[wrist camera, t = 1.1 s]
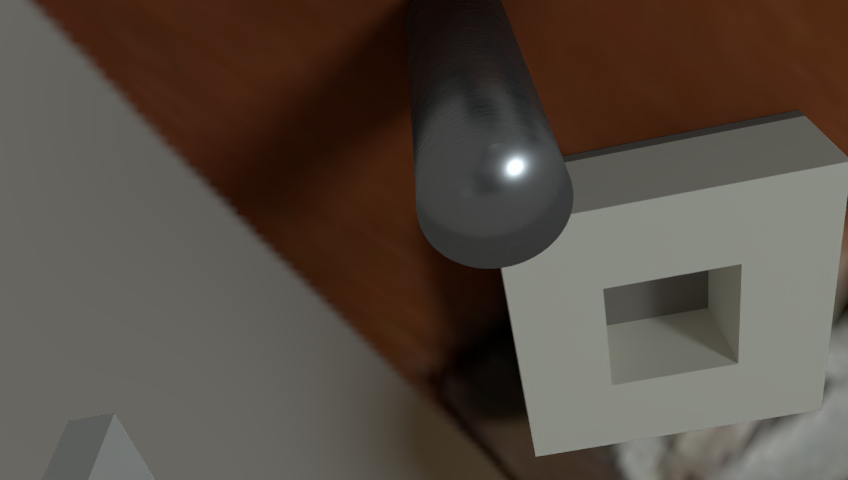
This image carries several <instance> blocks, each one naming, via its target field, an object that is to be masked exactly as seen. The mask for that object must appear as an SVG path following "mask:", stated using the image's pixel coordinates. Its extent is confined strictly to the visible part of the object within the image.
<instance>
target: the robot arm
mask: <svg viewBox="0 0 848 480" xmlns="http://www.w3.org/2000/svg"><path fill="white" fill-rule="evenodd" d="M42 480H155V479H154V477H153V476H152V474H151V472H150V471H149V469H148V467H147V466H146V464H145V463H144V461H143V459H142V458H141V456H140V454H139V453H138V451H137V449H136V448H135V446H134V444H133V443H132V441H131V440H130V438H129V437H128V435H127V433H126V431H125V430H124V428H123V427H122V425H121V423H120V421H119V420H118V418H117V417H116V415H115V413H112V414H107V415H101V416H95V417H91V418H84V419H79V420H73V421H69V422H68V424H67V426H66V428H65V430H64V433H63V435H62V437H61V439H60V441H59V444H58V446H57V448H56V450H55V452H54V455H53V457H52V459H51V461H50V463H49V466H48V468H47V470H46V472H45V474H44V477H43V479H42Z"/></svg>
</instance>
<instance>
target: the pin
mask: <svg viewBox="0 0 848 480" xmlns="http://www.w3.org/2000/svg"><path fill="white" fill-rule="evenodd" d="M406 38H407V55H408V72H409V88H410V105H411V122H412V139H413V156H414V173H415V190H416V207H417V216H418V221H419V224H420V227H421V229H422V231H423V233H424V235H425V237H426V238H427V240H428V241H429V243H430V244H431V245H432V246H433V247H434V248H435V249H436V250H437V251H439V252H440V253H441V254H442V255H444V256H445V257H447V258H449V259H450V260H453V261H455V262H457V263H459V264H463V265H466V266H470V267H475V268H484V269H495V268H504V267H509V266H513V265H517V264H520V263H522V262H525V261H527V260H529V259H531V258H534V257H535V256H537V255H538V254H540V253H542V252H543V251H544V250H546V249H547V248H548V247H549V246H550V245H551V244H552V243H553V242H554V241H555V240H556V239H557V238H558V237H559V236H560V234H561V233H562V232H563V230H564V228H565V227H566V225H567V223H568V220H569V218H570V215H571V212H572V208H573V200H574V195H573V186H572V181H571V178H570V175H569V173H568V170H567V168H566V165H565V162H564V160H563V157H562V155H561V152H560V150H559V147H558V145H557V142H556V140H555V137H554V134H553V132H552V129H551V127H550V124H549V122H548V119H547V117H546V114H545V112H544V109H543V106H542V104H541V101H540V99H539V96H538V94H537V91H536V89H535V86H534V84H533V81H532V78H531V76H530V73H529V71H528V68H527V66H526V63H525V61H524V58H523V56H522V53H521V50H520V48H519V45H518V43H517V40H516V38H515V35H514V33H513V30H512V28H511V25H510V22H509V20H508V17H507V15H506V12H505V10H504V7H503V5H502V2H501V0H411V1H410V4H409V6H408V9H407V13H406Z"/></svg>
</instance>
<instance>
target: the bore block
mask: <svg viewBox="0 0 848 480" xmlns="http://www.w3.org/2000/svg"><path fill="white" fill-rule="evenodd" d="M562 157H563V160H564V162H565V165H566V168H567V170H568V173H569V175H570V178H571V181H572V186H573V195H574V200H573V208H572V212H571V215H570V218H569V220H568V223H567V225H566V227H565V228H564V230H563V232H562V233H561V234H560V236H559V237H558V238H557V239H556V240H555V241H554V242H553V243H552V244H551V245H550V246H549V247H548V248H547V249H546V250H544V251H543V252H542V253H540V254H538V255H537V256H535V257H534V258H531V259H529V260H527V261H525V262H522V263H520V264H517V265H513V266H509V267H504V268H500V269H501V275H502V280H503V286H504V291H505V297H506V302H507V308H508V313H509V318H510V324H511V329H512V335H513V340H514V346H515V351H516V357H517V362H518V368H519V373H520V378H521V384H522V389H523V394H524V399H525V405H526V410H527V415H528V420H529V425H530V430H531V435H532V440H533V445H534V450H535V455H536V456H542V455H549V454H555V453H561V452H567V451H573V450H579V449H585V448H591V447H597V446H603V445H609V444H615V443H621V442H627V441H633V440H640V439H646V438H652V437H658V436H664V435H670V434H676V433H682V432H688V431H694V430H700V429H706V428H712V427H718V426H724V425H731V424H737V423H743V422H749V421H755V420H761V419H767V418H773V417H779V416H785V415H791V414H797V413H803V412H809V411H815V410H821V406H822V398H823V390H824V382H825V374H826V366H827V357H828V349H829V341H830V333H831V325H832V317H833V309H834V301H835V293H836V284H837V276H838V268H839V260H840V252H841V244H842V236H843V228H844V219H845V211H846V203H847V195H848V157H847V156H846V155H845V154H844V153H843V152H842V151H841V150H840V149H839V148H838V147H837V146H836V145H835V144H834V143H833V142H831V141H830V140H829V139H828V138H827V137H826V136H825V135H824V134H823V133H822V132H821V131H820V130H819V129H818V128H817V127H816V126H815V125H814V124H813V123H812V122H811V121H810V120H809V119H808V118H807V117H806V116H805V115H804V114H803V113H802V112H801V111H800V110H797V111H792V112H786V113H781V114H776V115H771V116H766V117H761V118H756V119H751V120H745V121H740V122H735V123H730V124H725V125H720V126H715V127H710V128H705V129H699V130H694V131H689V132H684V133H679V134H674V135H669V136H664V137H659V138H653V139H648V140H643V141H638V142H633V143H628V144H623V145H618V146H613V147H607V148H602V149H597V150H592V151H587V152H582V153H577V154H572V155H567V156H562Z"/></svg>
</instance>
